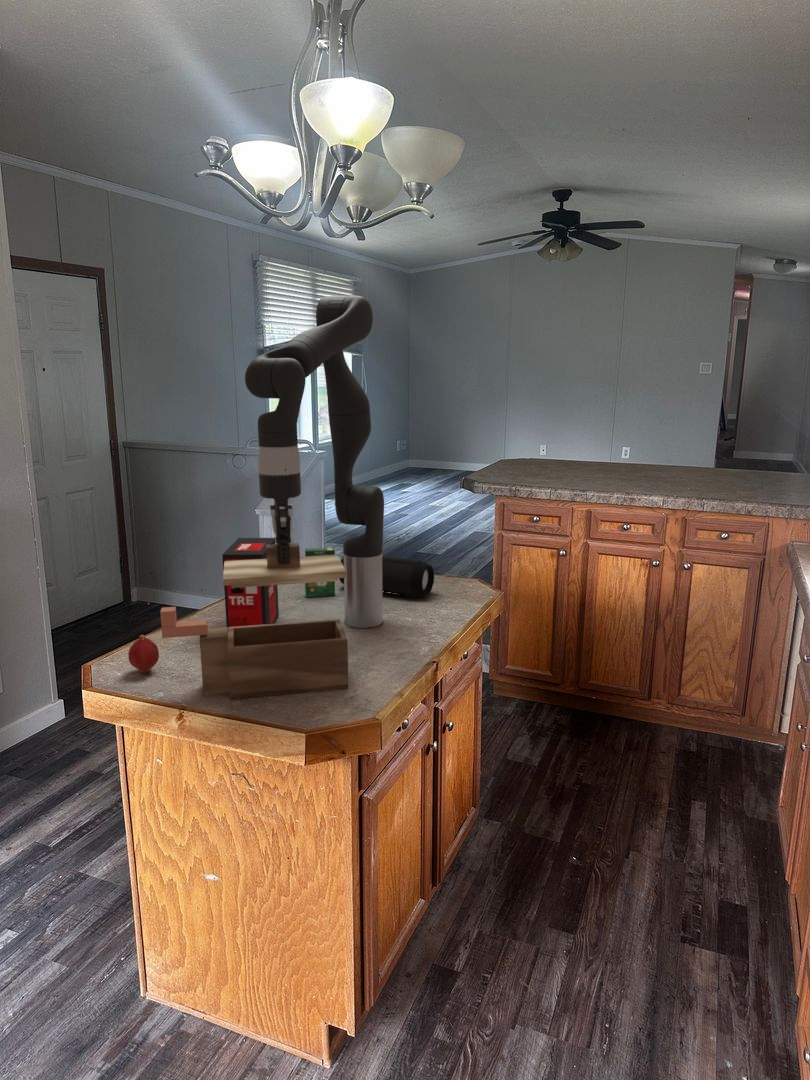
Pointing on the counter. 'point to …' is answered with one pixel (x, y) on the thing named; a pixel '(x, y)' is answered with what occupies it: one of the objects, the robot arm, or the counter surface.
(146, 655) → the onion
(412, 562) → the portable speaker
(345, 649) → the brown open box piece
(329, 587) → the coffee box
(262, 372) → the robot arm
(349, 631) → the counter surface
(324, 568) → the lid
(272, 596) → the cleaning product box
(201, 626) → the l-shaped block
